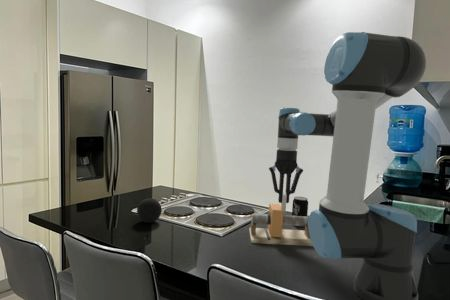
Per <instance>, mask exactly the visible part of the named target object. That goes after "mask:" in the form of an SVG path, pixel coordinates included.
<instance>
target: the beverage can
mask: <svg viewBox="0 0 450 300" xmlns="http://www.w3.org/2000/svg"><path fill="white" fill-rule="evenodd" d="M291 207H292V209H291V216H306V217H308V215H309V213H308V212H309V211H308V210H309V201H308V198H307V197H306V196H294V197H293V200H292V206H291ZM296 227H298V228H305V226H296Z"/></svg>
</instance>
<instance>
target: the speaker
mask: <svg viewBox="0 0 450 300" xmlns="http://www.w3.org/2000/svg"><path fill="white" fill-rule="evenodd" d="M162 211H163V209H162V205H161V203H160V202H159V201H158V200H157V199H155V198H152V197H151V198H149V197H148V198H145V199H143V200H141V201H140V203H138V205H137V208H136V214H137V216H138V218H139V220H141V221H142V222H144V223H147V224H151V223H153V222H156V221H158V219H160V217H161V215H162Z"/></svg>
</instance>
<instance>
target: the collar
mask: <svg viewBox="0 0 450 300" xmlns="http://www.w3.org/2000/svg"><path fill="white" fill-rule="evenodd" d="M284 213H285V212H284V210H283V209H282V207H281V203H270V202H269V203H268V214H270V215H271V224H270V225H267V229H268V230H269V233H270V236H271V237H282V229H283V226H284V225H283V215H284Z"/></svg>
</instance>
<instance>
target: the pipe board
mask: <svg viewBox="0 0 450 300" xmlns="http://www.w3.org/2000/svg"><path fill="white" fill-rule="evenodd" d="M251 216H252V218H251V221H250V227H249V228H248V232H249V236H250V237H249V238H250V242H251V244H263V245H265V244H266V245H281V246H283V245H286V246H302V247H304V246H305V247H313V245H312V242H311V239H310V235H309V229H308V219H309V216H307V217H306V216H292V215H284V214H283V226H294V227H297V226H305V227H304V229H303V230H301V229H285V228H284V229H283V228H282V237H271V236H270V233H269V230H268V227H267V228H266V227H265V228H262V227H257V225H259V224H260V225H267V226H268V225H270V224H271V215H270V214H269V213H266V214H264V213H252V215H251Z"/></svg>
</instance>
